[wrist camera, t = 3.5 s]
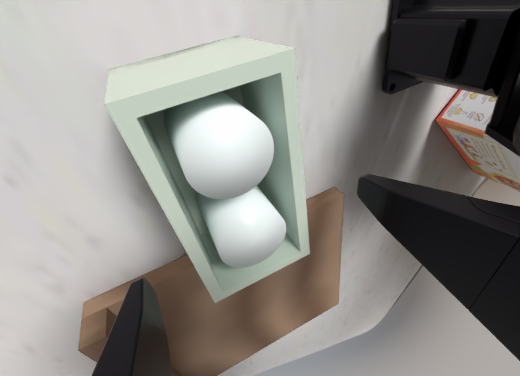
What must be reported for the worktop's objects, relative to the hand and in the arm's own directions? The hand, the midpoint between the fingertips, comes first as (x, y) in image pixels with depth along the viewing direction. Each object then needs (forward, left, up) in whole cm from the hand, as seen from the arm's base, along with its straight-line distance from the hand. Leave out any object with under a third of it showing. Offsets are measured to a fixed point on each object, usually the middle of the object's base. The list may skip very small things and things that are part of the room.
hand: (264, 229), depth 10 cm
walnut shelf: (+1, +16, -7) cm, 18 cm away
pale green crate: (0, 0, -7) cm, 7 cm away
